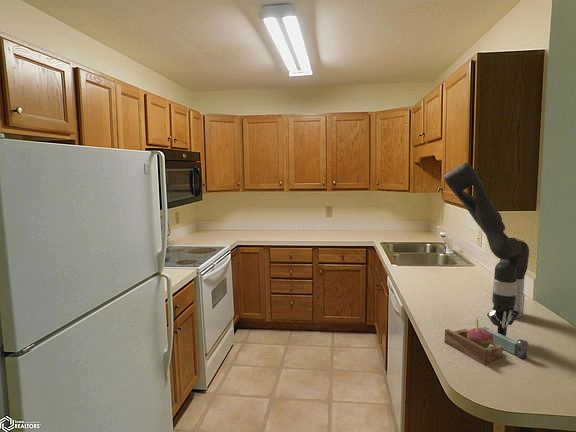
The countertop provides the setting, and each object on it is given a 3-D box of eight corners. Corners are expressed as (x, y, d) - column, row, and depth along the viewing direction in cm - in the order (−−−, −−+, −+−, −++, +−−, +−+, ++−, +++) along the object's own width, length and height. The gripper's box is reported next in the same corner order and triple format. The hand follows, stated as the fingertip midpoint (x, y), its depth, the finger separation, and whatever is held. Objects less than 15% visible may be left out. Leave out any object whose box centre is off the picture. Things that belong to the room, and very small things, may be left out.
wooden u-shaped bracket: (463, 337, 142) (463, 325, 141) (504, 359, 126) (505, 345, 125) (444, 342, 139) (444, 329, 138) (484, 365, 123) (485, 350, 122)
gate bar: (518, 352, 129) (519, 342, 129) (513, 354, 128) (514, 343, 128) (484, 336, 142) (484, 326, 142) (479, 337, 141) (480, 327, 141)
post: (520, 354, 129) (521, 338, 128) (528, 358, 126) (530, 342, 125) (514, 355, 128) (515, 340, 127) (522, 360, 125) (523, 344, 124)
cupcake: (481, 356, 128) (483, 323, 126) (460, 346, 136) (462, 314, 134) (498, 351, 132) (500, 318, 130) (477, 341, 139) (478, 310, 138)
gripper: (498, 297, 132) (495, 343, 134) (527, 292, 136) (524, 337, 138) (481, 290, 139) (479, 334, 142) (510, 286, 143) (507, 329, 145)
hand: (501, 335), depth 140 cm, fingers closed
